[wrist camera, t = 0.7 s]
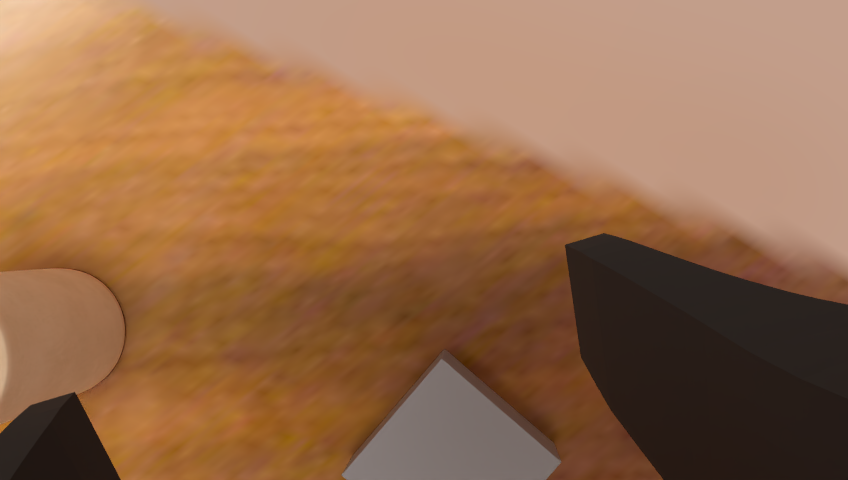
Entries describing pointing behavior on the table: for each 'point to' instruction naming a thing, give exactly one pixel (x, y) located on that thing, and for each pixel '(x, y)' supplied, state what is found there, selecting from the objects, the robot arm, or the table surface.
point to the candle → (54, 336)
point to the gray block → (453, 434)
